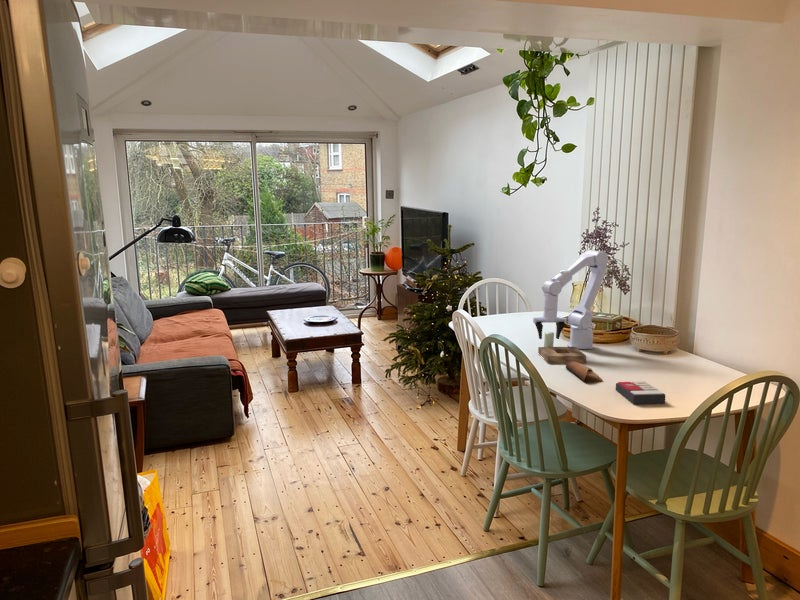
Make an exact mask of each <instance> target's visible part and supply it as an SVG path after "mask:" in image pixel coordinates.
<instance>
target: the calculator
mask: <svg viewBox="0 0 800 600" xmlns="http://www.w3.org/2000/svg"><path fill="white" fill-rule="evenodd" d="M615 391H616V392H617V393H618V394H619V395H621V396H622V397H623V398H625V399H626V400H627V401H628V402H629V403H630V404H632V405H633V406H647V405H652V406H653V405H654V406H657V405H665V404H666V394H665V393H664V392H662V391H661V390H659V389H658V388H657V387H655V386H653V385H651V384H649V382H646V381H642V380H641V381H617V383H615Z"/></svg>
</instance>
